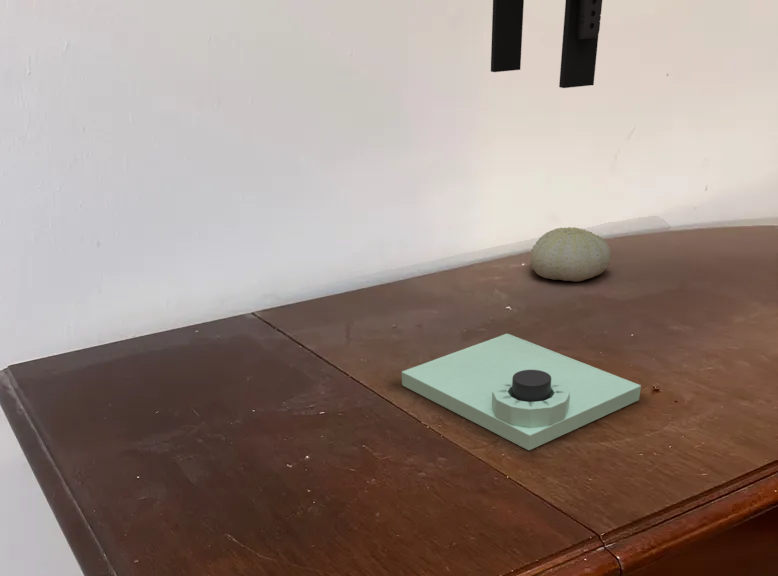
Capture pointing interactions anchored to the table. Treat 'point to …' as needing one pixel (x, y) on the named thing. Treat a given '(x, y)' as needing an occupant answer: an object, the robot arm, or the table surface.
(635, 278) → the table surface
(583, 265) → the sea urchin shell
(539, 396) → the power button
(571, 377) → the scale
